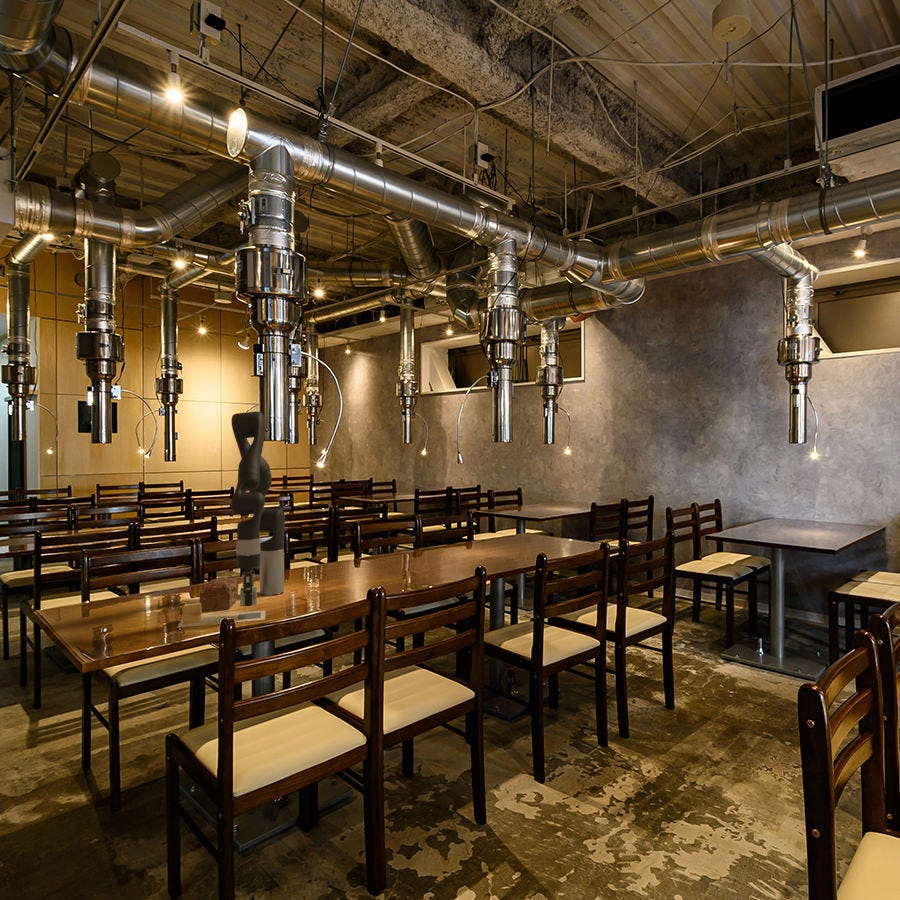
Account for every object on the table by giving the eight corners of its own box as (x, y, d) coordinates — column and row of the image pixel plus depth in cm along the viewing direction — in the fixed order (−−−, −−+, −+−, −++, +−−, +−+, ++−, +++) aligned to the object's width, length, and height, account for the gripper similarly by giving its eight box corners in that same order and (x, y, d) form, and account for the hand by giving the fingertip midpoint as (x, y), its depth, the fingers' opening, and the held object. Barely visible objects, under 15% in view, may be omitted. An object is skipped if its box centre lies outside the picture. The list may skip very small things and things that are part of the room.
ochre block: (184, 619, 188) (184, 604, 188) (201, 618, 189) (201, 603, 189) (182, 624, 183) (182, 608, 183) (199, 622, 185) (199, 606, 185)
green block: (241, 603, 193) (241, 587, 193) (257, 601, 194) (256, 586, 194) (240, 606, 188) (240, 591, 188) (256, 605, 190) (256, 589, 190)
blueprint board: (183, 619, 191) (183, 617, 191) (265, 612, 198) (265, 610, 198) (177, 629, 179) (177, 626, 179) (264, 621, 187) (264, 619, 187)
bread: (230, 612, 200) (230, 583, 200) (197, 614, 198) (197, 585, 198) (239, 600, 218) (239, 573, 218) (209, 601, 216) (209, 575, 216)
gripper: (237, 550, 197) (238, 600, 197) (234, 556, 184) (235, 610, 183) (260, 548, 200) (261, 598, 199) (259, 555, 186) (260, 608, 185)
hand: (248, 603), depth 191 cm, fingers closed on green block, 5 cm apart
